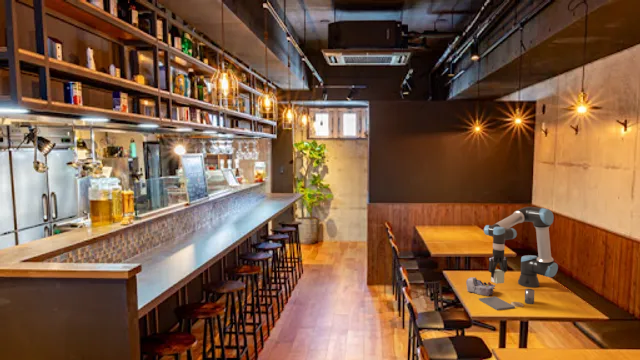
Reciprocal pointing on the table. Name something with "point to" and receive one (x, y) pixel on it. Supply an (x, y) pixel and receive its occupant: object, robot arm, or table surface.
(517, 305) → the cork coaster
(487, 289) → the cell model
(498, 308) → the slate board
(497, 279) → the sage block
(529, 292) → the dark tin
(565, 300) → the table surface
